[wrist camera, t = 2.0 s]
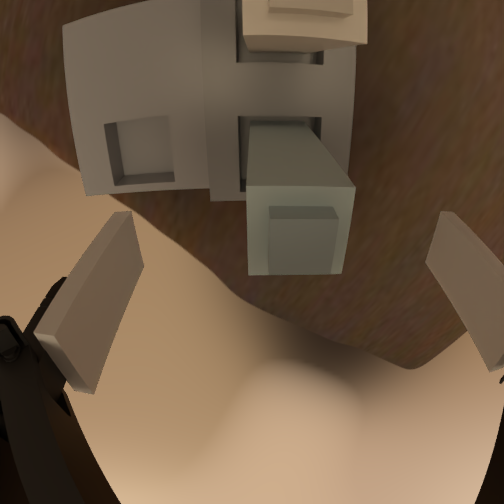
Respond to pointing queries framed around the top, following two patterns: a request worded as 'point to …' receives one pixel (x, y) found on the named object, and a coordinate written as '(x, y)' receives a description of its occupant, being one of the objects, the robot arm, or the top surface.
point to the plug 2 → (295, 202)
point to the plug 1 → (303, 25)
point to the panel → (191, 97)
